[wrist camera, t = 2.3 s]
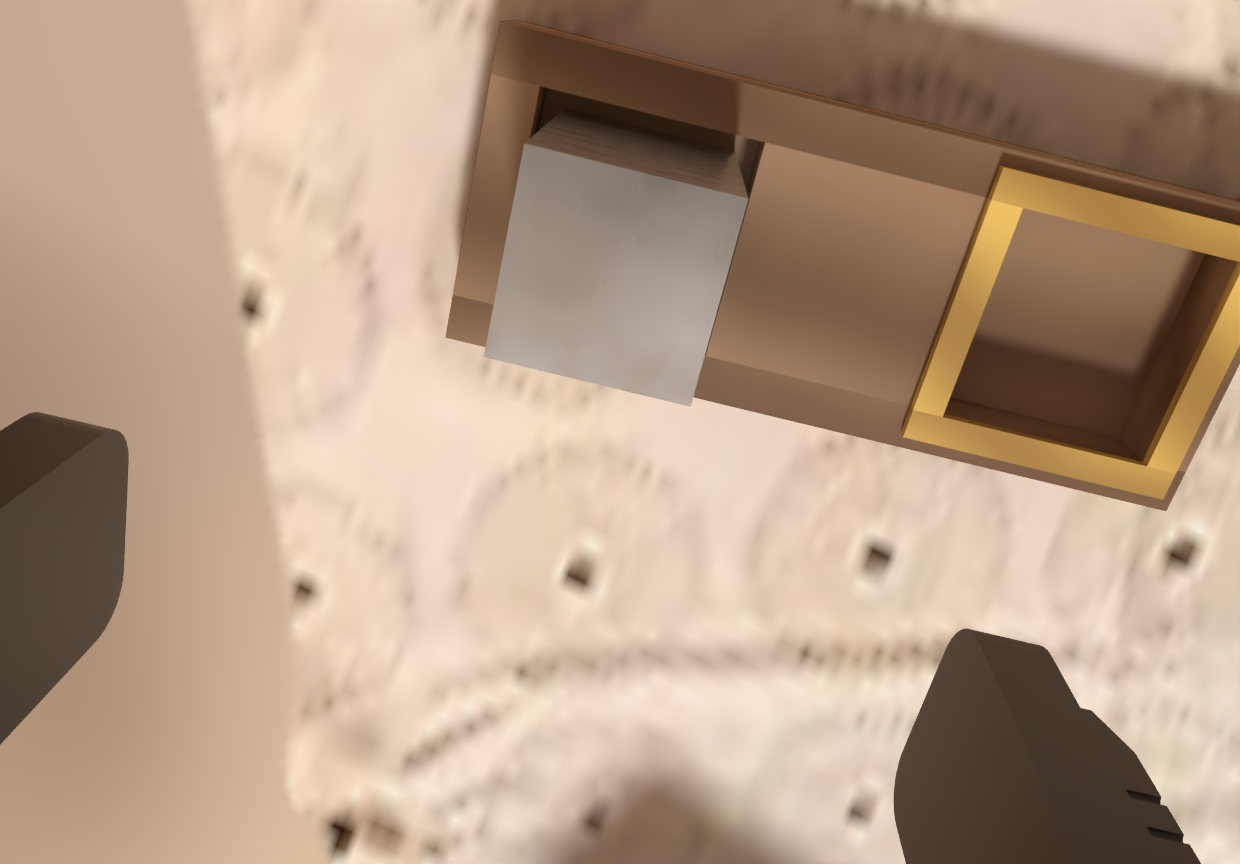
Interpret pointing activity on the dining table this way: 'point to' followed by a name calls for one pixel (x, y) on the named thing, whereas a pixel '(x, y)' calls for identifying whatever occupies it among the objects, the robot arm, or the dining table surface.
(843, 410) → the rail
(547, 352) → the block
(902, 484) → the dining table surface
